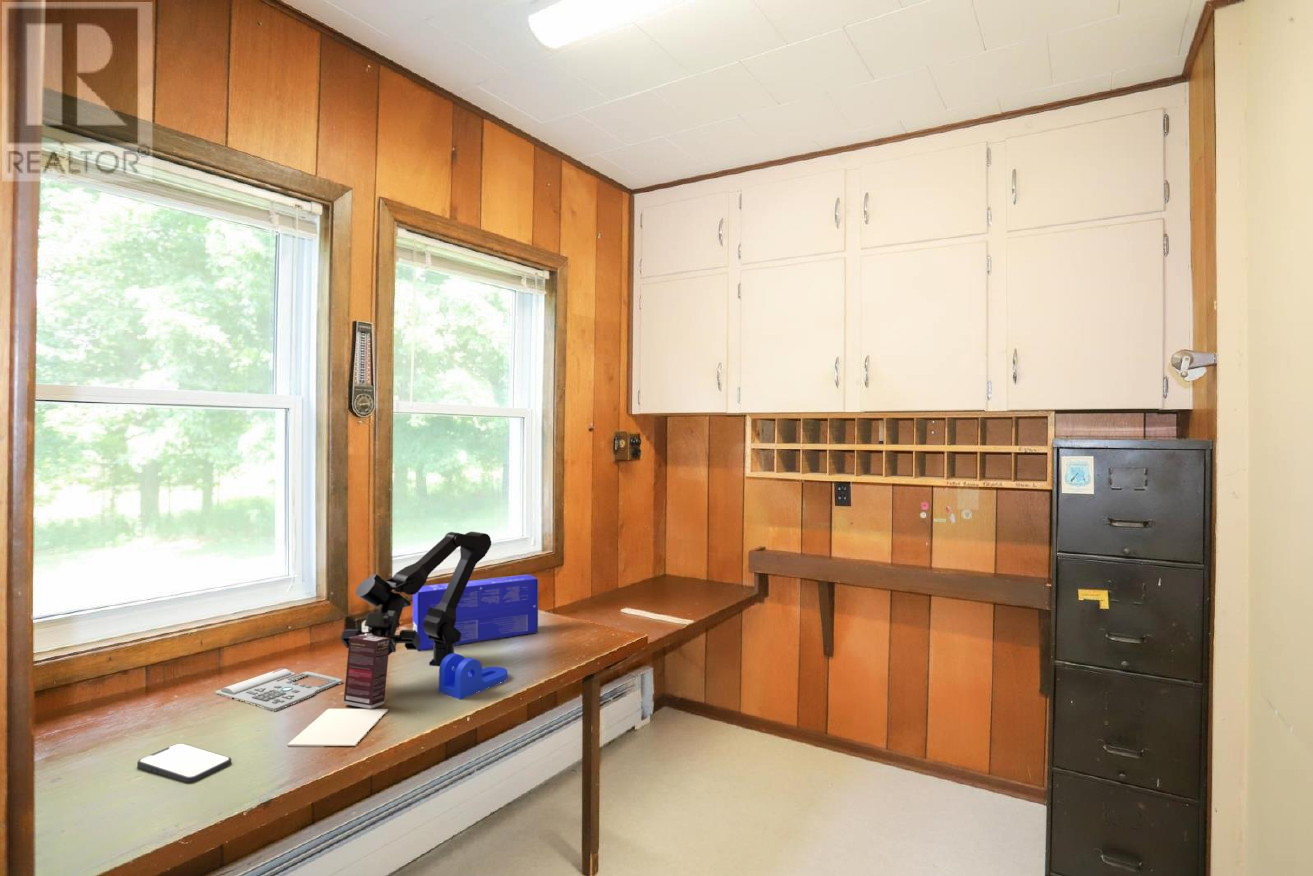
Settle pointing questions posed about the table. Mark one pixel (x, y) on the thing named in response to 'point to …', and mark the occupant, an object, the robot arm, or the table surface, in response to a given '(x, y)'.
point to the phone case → (184, 763)
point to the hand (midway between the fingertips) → (371, 671)
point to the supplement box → (366, 671)
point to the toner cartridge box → (484, 609)
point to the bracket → (467, 676)
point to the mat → (339, 727)
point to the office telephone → (276, 689)
